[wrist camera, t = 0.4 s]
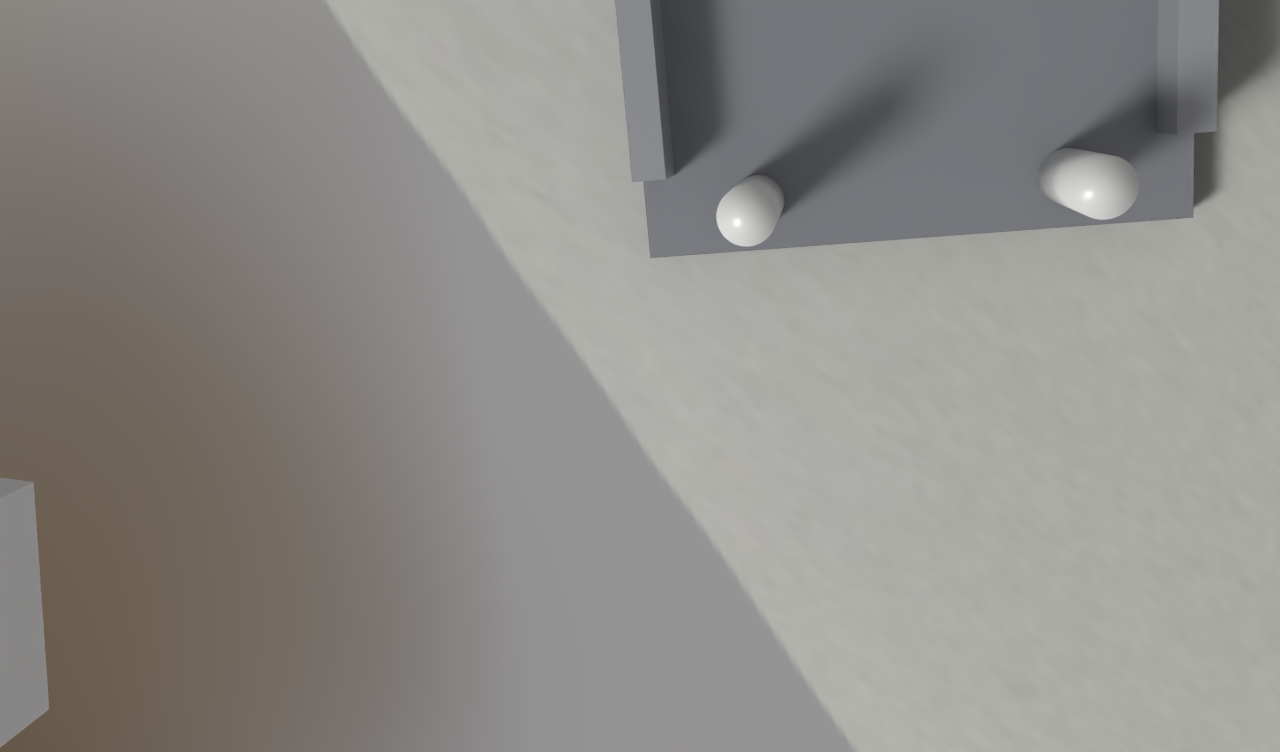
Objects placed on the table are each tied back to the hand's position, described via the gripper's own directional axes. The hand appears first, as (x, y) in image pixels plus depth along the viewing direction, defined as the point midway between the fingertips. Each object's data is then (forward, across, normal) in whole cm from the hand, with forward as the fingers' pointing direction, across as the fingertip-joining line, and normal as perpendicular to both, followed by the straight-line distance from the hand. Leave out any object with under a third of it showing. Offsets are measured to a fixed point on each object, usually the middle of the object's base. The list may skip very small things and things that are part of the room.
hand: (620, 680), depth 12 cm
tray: (+26, +3, +8) cm, 28 cm away
